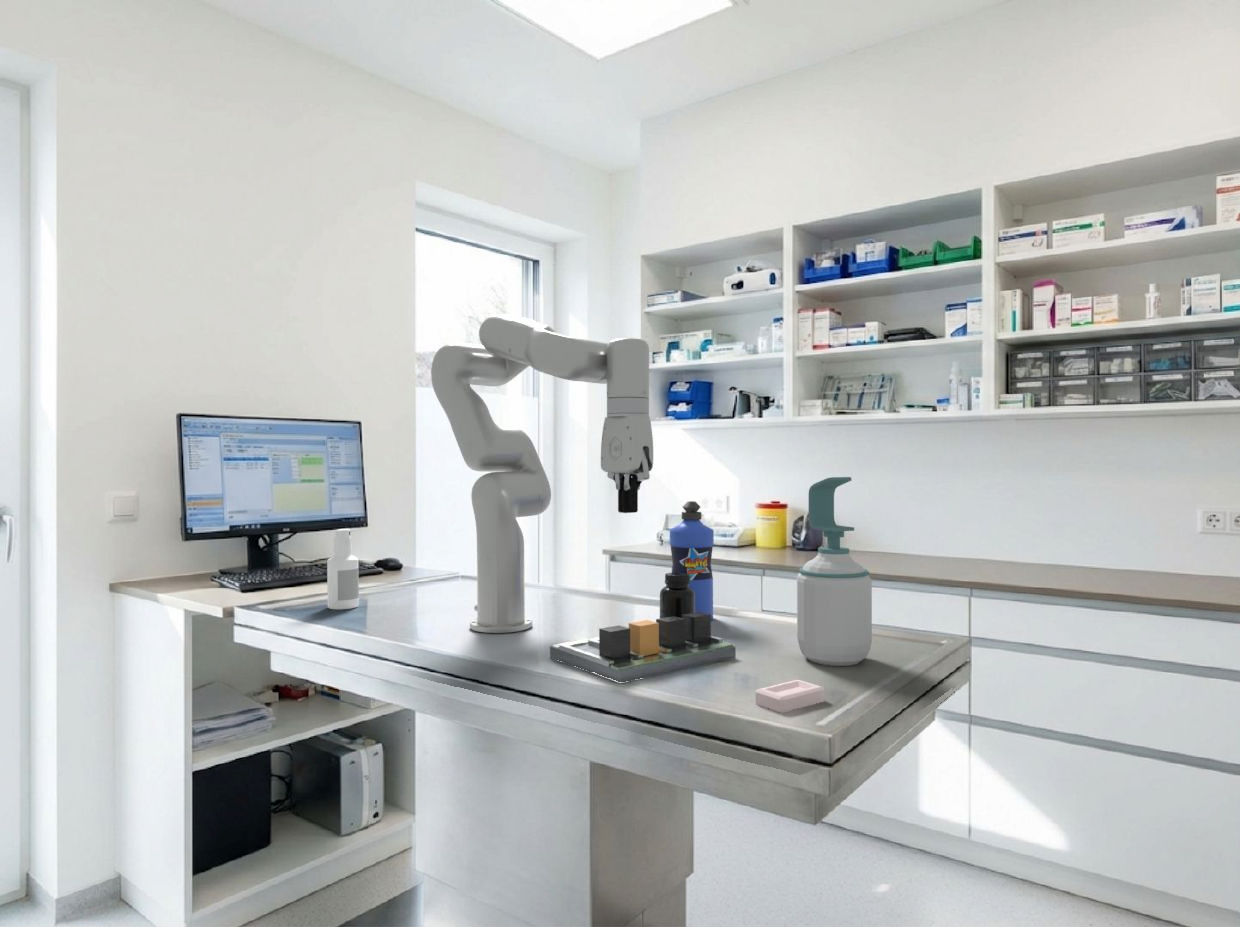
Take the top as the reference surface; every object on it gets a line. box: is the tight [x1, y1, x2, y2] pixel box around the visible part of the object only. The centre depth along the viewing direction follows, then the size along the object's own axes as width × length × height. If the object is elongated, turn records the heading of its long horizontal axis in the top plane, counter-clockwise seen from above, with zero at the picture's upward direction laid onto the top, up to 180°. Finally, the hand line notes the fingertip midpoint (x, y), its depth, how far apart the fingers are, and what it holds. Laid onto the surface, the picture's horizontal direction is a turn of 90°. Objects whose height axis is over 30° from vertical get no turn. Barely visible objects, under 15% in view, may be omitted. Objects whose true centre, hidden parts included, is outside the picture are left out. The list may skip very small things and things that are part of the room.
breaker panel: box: [549, 612, 737, 682], centre depth 139 cm, size 20×25×7 cm
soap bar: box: [755, 679, 825, 713], centre depth 114 cm, size 5×9×2 cm, turn 125°
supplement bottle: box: [659, 572, 695, 619], centre depth 156 cm, size 7×7×12 cm
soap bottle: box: [796, 476, 873, 667], centre depth 137 cm, size 12×12×31 cm
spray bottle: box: [326, 528, 360, 611], centre depth 186 cm, size 7×7×18 cm
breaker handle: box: [628, 619, 659, 656], centre depth 134 cm, size 3×4×5 cm
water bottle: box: [669, 500, 715, 622], centre depth 171 cm, size 9×9×25 cm
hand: (627, 512), depth 143 cm, fingers closed
